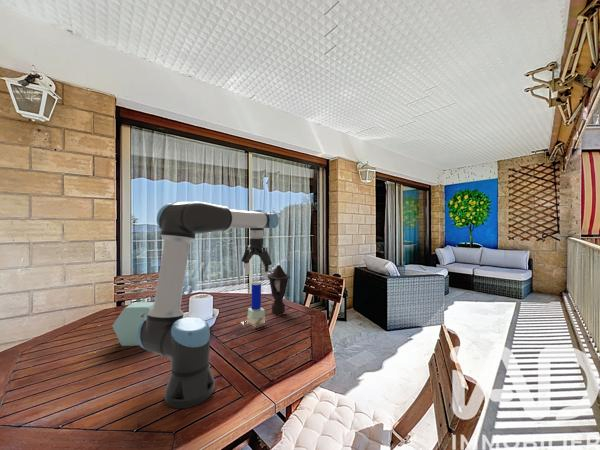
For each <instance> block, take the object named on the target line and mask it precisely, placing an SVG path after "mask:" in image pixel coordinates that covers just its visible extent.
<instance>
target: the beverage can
mask: <svg viewBox="0 0 600 450" xmlns="http://www.w3.org/2000/svg"><path fill="white" fill-rule="evenodd" d="M250 303H251V305H250V306H251V307H250V308H251V309H252V310H260V309H261V308H262V282H261V281H257V280H255V281H252V282H251V302H250Z"/></svg>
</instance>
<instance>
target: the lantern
mask: <svg viewBox="0 0 600 450" xmlns="http://www.w3.org/2000/svg"><path fill="white" fill-rule="evenodd" d="M267 278H268V281H269V286H270V291H271V296H272V297H273V299H274V300H273V303H272V304H271V314H272V313H273V314H283V313H284V312H286V304H285V303H284V301H283V299H284V297H285V296H286V290H287V286H288V285H287V284H288V279H290V278H291V275H290V274H287V273H286V272H285V270H284V269H283V267H282V266H281V265H280V264H277V266H276V267H275V269H273V272H272V273H271V274H268V277H267ZM273 314H272V315H273Z"/></svg>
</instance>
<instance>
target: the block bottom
mask: <svg viewBox="0 0 600 450" xmlns="http://www.w3.org/2000/svg"><path fill="white" fill-rule="evenodd" d="M265 320H266V316H265V317H263V318H258V319H253V320H252V319H251V318H250V317H249V316H248V315H246V321H247V324H250V325H252V326H254V327H256V326H258V325H261V324H263V323H265Z"/></svg>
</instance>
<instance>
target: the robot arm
mask: <svg viewBox="0 0 600 450" xmlns="http://www.w3.org/2000/svg"><path fill="white" fill-rule="evenodd" d="M156 214H157V215H156V224H157V226H158V228H159V230H160V237H161V238H162V239H163V241H164V242H163V248H162V255H161V261H160V266H159V271H158V279H157V283H156V284H157V285H156V291H155V297H154V301H153V302H154V308H153V309H152V310H151V311H149V312H148V315H147V318H145V319H144V320H143V323H141V324H140V326H139V328H138V331H137V341H138V343H139V345H138V346H140V348H142V349H144V350H145V351H146V352H149V353H153V354H156V355H158V356H159V355H160V356H162V357H164V358H168V359H170V362H171V363H170V364H171V367H170V370H171V371H170V376H169V378H168V381H167V385H166V388H165V390H164V401H165V403H166V405H168V407H171V408H175V409H188V408H192V407H195V406H198V405H200V404H202V403H205V401H207V400H208V399H209V398H210V397H211V396H212V395H213V393H214V392H215V377H214V376H213V373H212V370H211V367H210V351H211V349H210V347H211V346H210V344H211V331H210V326H209V323H208V322H207V321H206V320H205V319H204V318H201V317H197V316H196V317H195V316H194V317H191V316H190V317H189V316H188V317H184V314H185V313H184V311H183V310H182V309H181V305H182V298H183V292H184V291H183V289H184V283H185V277H186V270H187V264H188V257H189V250H190V244H191V243H192V242H193V241H195V239H196V235H198V234H199V235H200V234H206V233H214V232H224V231H227V230H229V229H249V245H246V246H245V250H244V253H243V255H242V258H241V262H242V263H244V267H243V269H244V276H247V275H250V261H251V259H252V257H253V256H254V255H255V256H258V257H259V258H260V260H261V261H262V263H263V266H262V278H263V279H266V278H268V275H269V274H268V273H269V266H271V265H273V263H272V260H271V257H270V254H269V251H268V247H267V246H266V247H265V246H264V247H263V245H264V229H276V228H277V227H278V226H279V223H280V217H279V214H277V213H275V212H264V210H261V209H251V210H249V211H248V210H239V209H231V208H229V207H228V206H225V205H219V204H213V203H208V202H205V201H204V202H202V201H175V202H169V203H166V204H164V205H163V206H162V207H161V208H160V209H159V211H158V213H156Z"/></svg>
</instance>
